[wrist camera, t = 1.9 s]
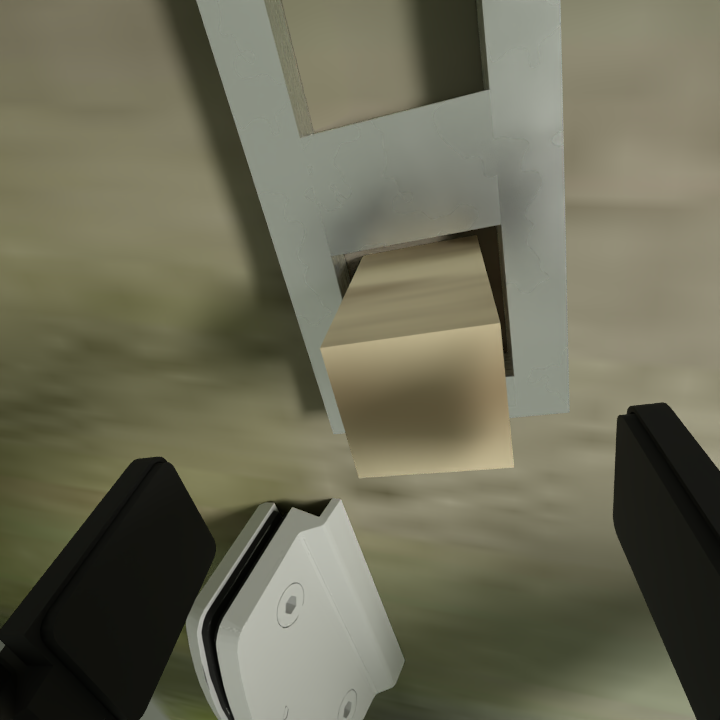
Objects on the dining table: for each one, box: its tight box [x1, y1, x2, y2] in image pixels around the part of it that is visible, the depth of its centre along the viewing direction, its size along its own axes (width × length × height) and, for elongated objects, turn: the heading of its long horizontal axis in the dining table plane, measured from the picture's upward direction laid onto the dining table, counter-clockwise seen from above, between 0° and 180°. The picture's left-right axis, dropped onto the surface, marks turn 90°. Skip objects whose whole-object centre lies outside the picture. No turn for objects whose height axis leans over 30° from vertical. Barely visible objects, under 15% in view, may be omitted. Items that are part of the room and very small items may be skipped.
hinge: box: [186, 498, 405, 720], centre depth 27 cm, size 17×5×10 cm, turn 16°
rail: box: [196, 0, 570, 434], centre depth 14 cm, size 30×10×2 cm, turn 13°
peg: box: [320, 235, 514, 478], centre depth 16 cm, size 4×4×8 cm
